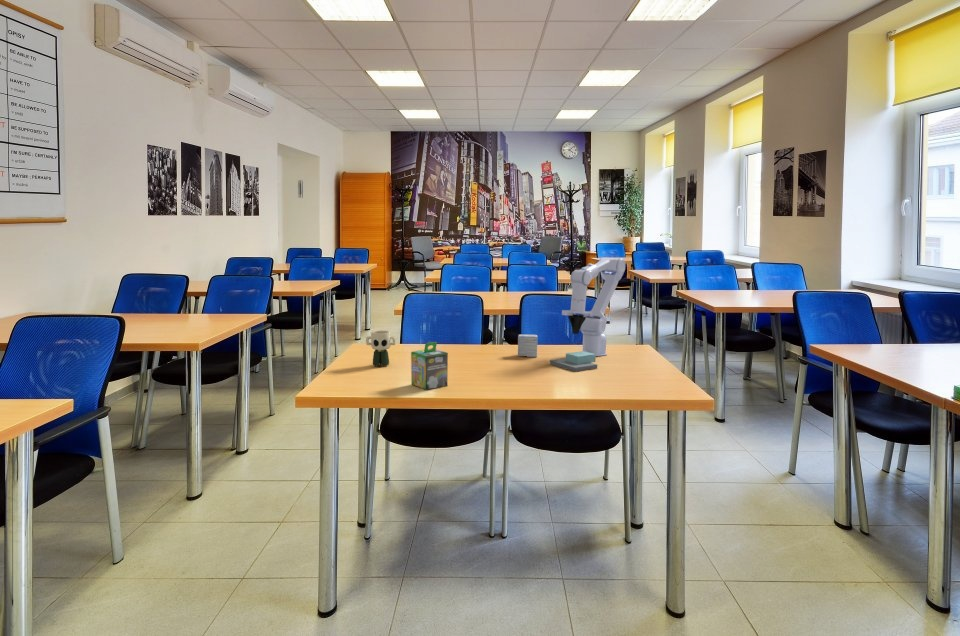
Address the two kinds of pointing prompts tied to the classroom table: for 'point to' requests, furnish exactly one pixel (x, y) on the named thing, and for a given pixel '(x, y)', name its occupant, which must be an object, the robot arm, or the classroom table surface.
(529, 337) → the medicine box
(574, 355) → the teal slab
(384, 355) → the character mug
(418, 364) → the chalk box
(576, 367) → the rubber pad
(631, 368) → the classroom table surface
